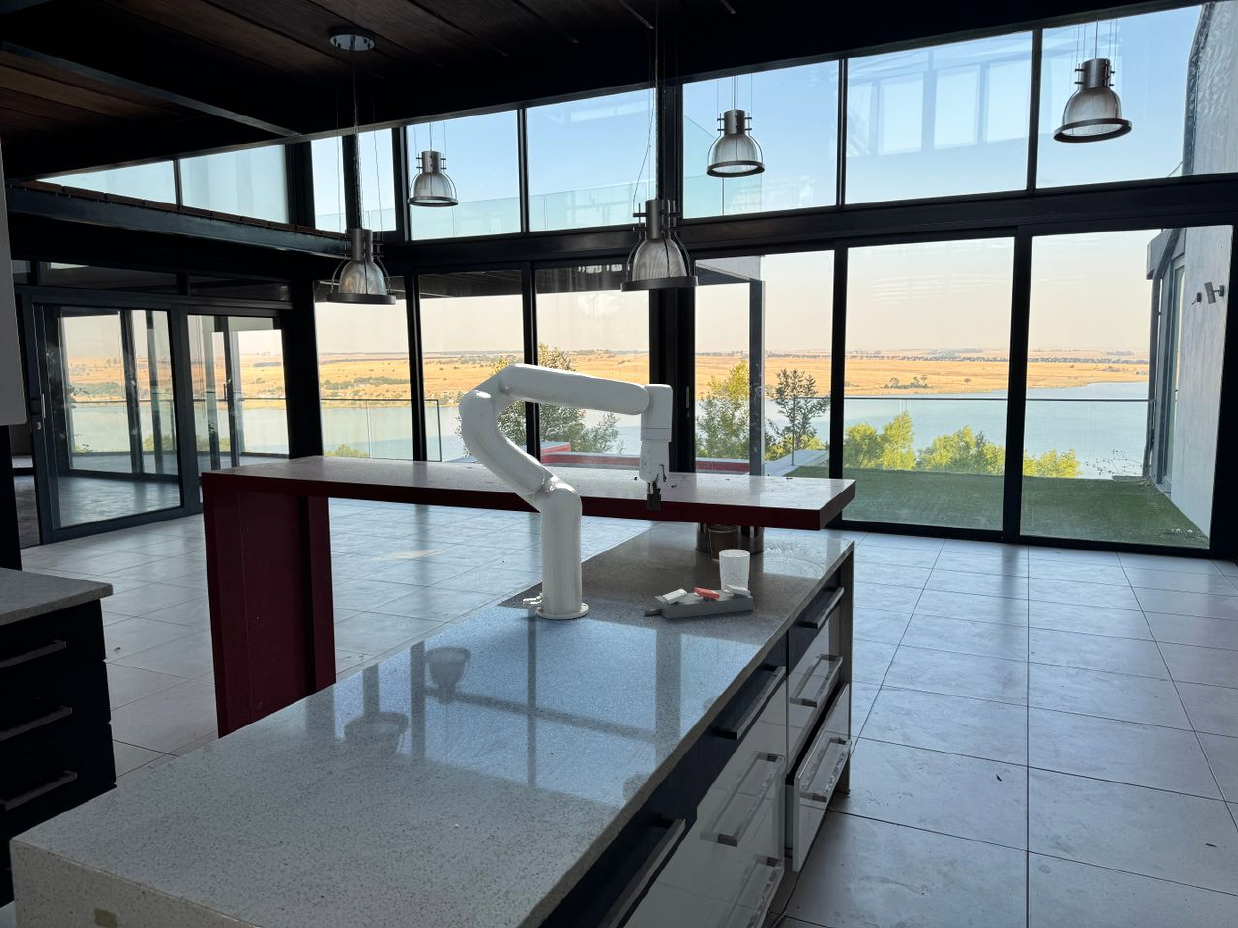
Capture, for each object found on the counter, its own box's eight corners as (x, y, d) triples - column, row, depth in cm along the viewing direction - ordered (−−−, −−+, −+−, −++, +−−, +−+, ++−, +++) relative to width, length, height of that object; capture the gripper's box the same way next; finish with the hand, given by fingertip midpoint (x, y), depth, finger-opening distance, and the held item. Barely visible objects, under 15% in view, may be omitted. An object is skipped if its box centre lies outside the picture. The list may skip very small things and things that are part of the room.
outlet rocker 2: (700, 595, 203) (701, 591, 203) (693, 591, 207) (694, 586, 207) (718, 598, 205) (720, 594, 205) (712, 594, 208) (713, 590, 208)
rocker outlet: (731, 592, 205) (732, 587, 205) (724, 588, 209) (725, 583, 209) (749, 595, 207) (750, 591, 207) (742, 591, 211) (743, 587, 211)
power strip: (651, 620, 200) (651, 605, 199) (639, 610, 208) (639, 595, 208) (753, 609, 207) (753, 595, 207) (737, 599, 216) (737, 585, 215)
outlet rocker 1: (669, 604, 201) (668, 599, 201) (663, 599, 205) (662, 595, 205) (688, 596, 202) (687, 592, 202) (682, 592, 206) (681, 588, 206)
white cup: (751, 594, 221) (751, 556, 219) (720, 594, 221) (720, 556, 219) (747, 586, 228) (747, 549, 227) (717, 586, 229) (717, 549, 227)
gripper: (632, 432, 215) (630, 505, 217) (650, 437, 201) (647, 515, 203) (661, 432, 217) (658, 504, 219) (680, 437, 203) (678, 514, 205)
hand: (653, 509), depth 211 cm, fingers closed
